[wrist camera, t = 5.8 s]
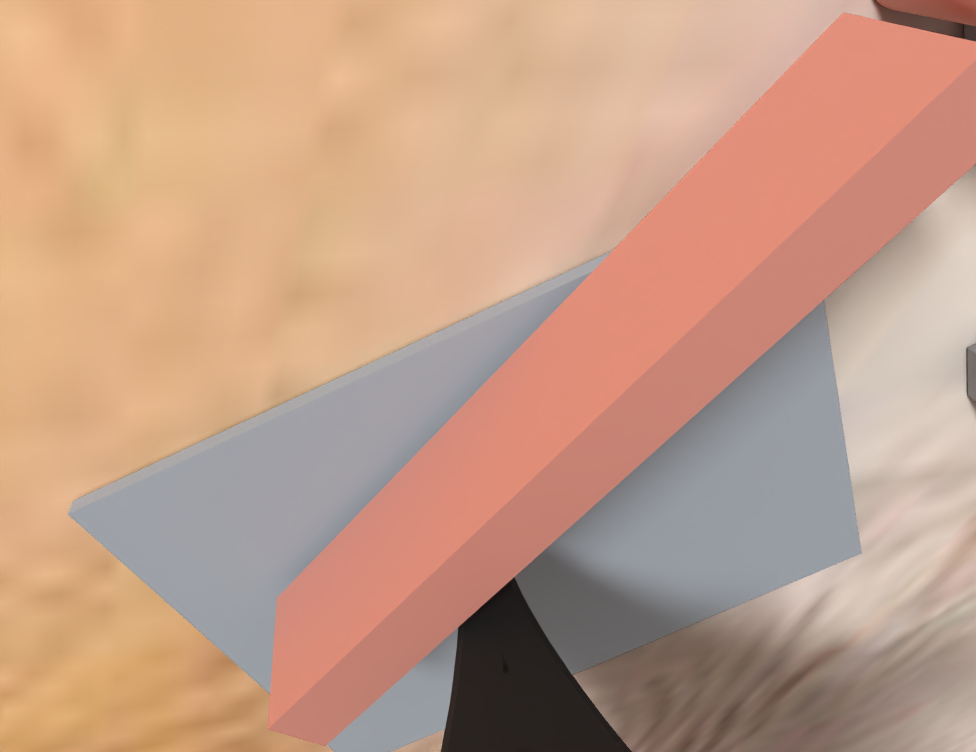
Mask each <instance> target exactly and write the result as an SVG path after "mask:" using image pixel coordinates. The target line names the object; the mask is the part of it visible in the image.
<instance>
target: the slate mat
mask: <svg viewBox="0 0 976 752" xmlns="http://www.w3.org/2000/svg"><path fill="white" fill-rule="evenodd" d="M611 252H612V251H611ZM611 252H609V253H606V254H604V255H602V256H600V257H598V258H596V259H594V260H591V261H589V262H587V263H585V264H583V265H581V266H578V267H576V268H574V269H572V270H570V271H568V272H566V273H563V274H561V275H559V276H557V277H555V278H553V279H550V280H548V281H546V282H544V283H542V284H540V285H538V286H535V287H533V288H531V289H529V290H527V291H525V292H522V293H520V294H518V295H516V296H514V297H512V298H509V299H507V300H505V301H503V302H501V303H499V304H497V305H494V306H492V307H490V308H488V309H486V310H484V311H481V312H479V313H477V314H475V315H473V316H471V317H469V318H466V319H464V320H462V321H460V322H458V323H456V324H453V325H451V326H449V327H447V328H445V329H443V330H440V331H438V332H436V333H434V334H432V335H430V336H428V337H425V338H423V339H421V340H419V341H417V342H415V343H412V344H410V345H408V346H406V347H404V348H402V349H400V350H397V351H395V352H393V353H391V354H389V355H387V356H384V357H382V358H380V359H378V360H376V361H374V362H371V363H369V364H367V365H365V366H363V367H361V368H359V369H356V370H354V371H352V372H350V373H348V374H346V375H343V376H341V377H339V378H337V379H335V380H333V381H331V382H328V383H326V384H324V385H322V386H320V387H318V388H315V389H313V390H311V391H309V392H307V393H305V394H303V395H300V396H298V397H296V398H294V399H292V400H290V401H287V402H285V403H283V404H281V405H279V406H277V407H274V408H272V409H270V410H268V411H266V412H264V413H262V414H259V415H257V416H255V417H253V418H251V419H249V420H246V421H244V422H242V423H240V424H238V425H236V426H234V427H231V428H229V429H227V430H225V431H223V432H221V433H218V434H216V435H214V436H212V437H210V438H208V439H205V440H203V441H201V442H199V443H197V444H195V445H193V446H190V447H188V448H186V449H184V450H182V451H180V452H177V453H175V454H173V455H171V456H169V457H167V458H165V459H162V460H160V461H158V462H156V463H154V464H152V465H149V466H147V467H145V468H143V469H141V470H139V471H136V472H134V473H132V474H130V475H128V476H126V477H124V478H121V479H119V480H117V481H115V482H113V483H111V484H108V485H106V486H104V487H102V488H100V489H98V490H96V491H93V492H91V493H89V494H87V495H85V496H83V497H80V498H78V499H76V500H74V501H73V503H72V505H71V508H70V510H69V512H68V515H69V516H70V517H72V518H73V519H74V520H75V521H76V522H77V523H78V524H79V525H81V526H82V527H83V528H84V529H85V530H86V531H87V532H88V533H90V534H91V535H92V536H93V537H94V538H95V539H96V540H97V541H98V542H100V543H101V544H102V545H103V546H104V547H105V548H106V549H107V550H109V551H110V552H111V553H112V554H113V555H114V556H115V557H116V558H118V559H119V560H120V561H121V562H122V563H123V564H124V565H125V566H127V567H128V568H129V569H130V570H131V571H132V572H133V573H134V574H136V575H137V576H138V577H139V578H140V579H141V580H142V581H143V582H145V583H146V584H147V585H148V586H149V587H150V588H151V589H152V590H154V591H155V592H156V593H157V594H158V595H159V596H160V597H161V598H163V599H164V600H165V601H166V602H167V603H168V604H169V605H170V606H171V607H173V608H174V609H175V610H176V611H177V612H178V613H179V614H180V615H182V616H183V617H184V618H185V619H186V620H187V621H188V622H189V623H191V624H192V625H193V626H194V627H195V628H196V629H197V630H198V631H200V632H201V633H202V634H203V635H204V636H205V637H206V638H207V639H209V640H210V641H211V642H212V643H213V644H214V645H215V646H216V647H218V648H219V649H220V650H221V651H222V652H223V653H224V654H225V655H227V656H228V657H229V658H230V659H231V660H232V661H233V662H234V663H235V664H237V665H238V666H239V667H240V668H241V669H242V670H243V671H244V672H246V673H247V674H248V675H249V676H250V677H251V678H252V679H253V680H255V681H256V682H257V683H258V684H259V685H260V686H261V687H262V688H264V689H265V690H266V691H267V692H268V693H269V694H270V688H271V674H272V660H273V645H274V631H275V617H276V603H277V597H278V596H279V595H280V594H281V593H282V592H283V591H284V590H285V589H286V588H287V587H288V586H289V585H290V584H291V583H292V582H293V581H294V580H295V579H296V578H297V577H298V576H299V575H300V574H301V572H302V571H303V570H304V569H305V568H306V567H307V566H308V565H309V564H310V563H311V562H312V561H313V560H314V559H315V558H316V557H317V556H318V555H319V554H320V553H321V552H322V551H323V550H324V549H325V548H326V547H327V546H328V545H329V544H330V543H331V541H332V540H333V539H334V538H335V537H336V536H337V535H338V534H339V533H340V532H341V531H342V530H343V529H344V528H345V527H346V526H347V525H348V524H349V523H350V522H351V521H352V520H353V519H354V518H355V517H356V516H357V515H358V514H359V513H360V512H361V510H362V509H363V508H364V507H365V506H366V505H367V504H368V503H369V502H370V501H371V500H372V499H373V498H374V497H375V496H376V495H377V494H378V493H379V492H380V491H381V490H382V489H383V488H384V487H385V486H386V485H387V484H388V483H389V482H390V480H391V479H392V478H393V477H394V476H395V475H396V474H397V473H398V472H399V471H400V470H401V469H402V468H403V467H404V466H405V465H406V464H407V463H408V462H409V461H410V460H411V459H412V458H413V457H414V456H415V455H416V454H417V453H418V452H419V451H420V449H421V448H422V447H423V446H424V445H425V444H426V443H427V442H428V441H429V440H430V439H431V438H432V437H433V436H434V435H435V434H436V433H437V432H438V431H439V430H440V429H441V428H442V427H443V426H444V425H445V424H446V423H447V422H448V421H449V420H450V418H451V417H452V416H453V415H454V414H455V413H456V412H457V411H458V410H459V409H460V408H461V407H462V406H463V405H464V404H465V403H466V402H467V401H468V400H469V399H470V398H471V397H472V396H473V395H474V394H475V393H476V392H477V391H478V390H479V388H480V387H481V386H482V385H483V384H484V383H485V382H486V381H487V380H488V379H489V378H490V377H491V376H492V375H493V374H494V373H495V372H496V371H497V370H498V369H499V368H500V367H501V366H502V365H503V364H504V363H505V362H506V361H507V360H508V359H509V357H510V356H511V355H512V354H513V353H514V352H515V351H516V350H517V349H518V348H519V347H520V346H521V345H522V344H523V343H524V342H525V341H526V340H527V339H528V338H529V337H530V336H531V335H532V334H533V333H534V332H535V331H536V330H537V329H538V328H539V326H540V325H541V324H542V323H543V322H544V321H545V320H546V319H547V318H548V317H549V316H550V315H551V314H552V313H553V312H554V311H555V310H556V309H557V308H558V307H559V306H560V305H561V304H562V303H563V302H564V301H565V300H566V299H567V298H568V296H569V295H570V294H571V293H572V292H573V291H574V290H575V289H576V288H577V287H578V286H579V285H580V284H581V283H582V282H583V281H584V280H585V279H586V278H587V277H588V276H589V275H590V274H591V273H592V272H593V271H594V270H595V269H596V268H597V267H598V265H599V264H600V263H601V262H602V261H603V260H604V259H605V258H606V257H607V256H608V255H609V254H610V253H611ZM859 554H861V546H860V540H859V533H858V526H857V520H856V513H855V506H854V499H853V493H852V486H851V479H850V473H849V466H848V459H847V453H846V446H845V439H844V432H843V426H842V419H841V412H840V406H839V399H838V392H837V386H836V379H835V372H834V365H833V359H832V352H831V345H830V339H829V332H828V325H827V319H826V312H825V305H824V300H823V301H822V302H821V303H820V304H819V305H817V306H816V307H815V308H814V309H813V310H812V311H811V312H810V313H808V314H807V315H806V316H805V317H804V318H803V319H802V320H801V321H800V322H798V323H797V324H796V325H795V326H794V327H793V328H792V329H791V330H789V331H788V332H787V333H786V334H785V335H784V336H783V337H782V338H781V339H779V340H778V341H777V342H776V343H775V344H774V345H773V346H772V347H771V348H769V349H768V350H767V351H766V352H765V353H764V354H763V355H762V356H760V357H759V358H758V359H757V360H756V361H755V362H754V363H753V364H752V365H750V366H749V367H748V368H747V369H746V370H745V371H744V372H743V373H741V374H740V375H739V376H738V377H737V378H736V379H735V380H734V381H733V382H731V383H730V384H729V385H728V386H727V387H726V388H725V389H724V390H723V391H721V392H720V393H719V394H718V395H717V396H716V397H715V398H714V399H712V400H711V401H710V402H709V403H708V404H707V405H706V406H705V407H704V408H702V409H701V410H700V411H699V412H698V413H697V414H696V415H695V416H693V417H692V418H691V419H690V420H689V421H688V422H687V423H686V424H685V425H683V426H682V427H681V428H680V429H679V430H678V431H677V432H676V433H674V434H673V435H672V436H671V437H670V438H669V439H668V440H667V441H666V442H664V443H663V444H662V445H661V446H660V447H659V448H658V449H657V450H656V451H654V452H653V453H652V454H651V455H650V456H649V457H648V458H647V459H645V460H644V461H643V462H642V463H641V464H640V465H639V466H638V467H637V468H635V469H634V470H633V471H632V472H631V473H630V474H629V475H628V476H626V477H625V478H624V479H623V480H622V481H621V482H620V483H619V484H618V485H616V486H615V487H614V488H613V489H612V490H611V491H610V492H609V493H608V494H606V495H605V496H604V497H603V498H602V499H601V500H600V501H599V502H597V503H596V504H595V505H594V506H593V507H592V508H591V509H590V510H589V511H587V512H586V513H585V514H584V515H583V516H582V517H581V518H580V519H578V520H577V521H576V522H575V523H574V524H573V525H572V526H571V527H570V528H568V529H567V530H566V531H565V532H564V533H563V534H562V535H561V536H559V537H558V538H557V539H556V540H555V541H554V542H553V543H552V544H551V545H549V546H548V547H547V548H546V549H545V550H544V551H543V552H542V553H541V554H539V555H538V556H537V557H536V558H535V559H534V560H533V561H532V562H530V563H529V564H528V565H527V566H526V567H525V568H524V569H523V570H522V571H520V572H519V573H518V574H517V575H516V576H515V579H516V582H517V584H518V586H519V588H520V590H521V592H522V594H523V596H524V598H525V600H526V602H527V604H528V606H529V607H530V609H531V611H532V613H533V614H534V616H535V618H536V620H537V621H538V623H539V625H540V627H541V628H542V630H543V632H544V633H545V635H546V636H547V638H548V640H549V641H550V643H551V644H552V646H553V647H554V649H555V650H556V652H557V653H558V655H559V656H560V658H561V659H562V661H563V662H564V664H565V665H566V667H567V668H568V670H569V671H570V673H571V674H572V675H574V674H576V673H579V672H581V671H583V670H586V669H588V668H590V667H593V666H595V665H598V664H600V663H602V662H605V661H607V660H609V659H612V658H614V657H617V656H619V655H621V654H624V653H626V652H628V651H631V650H633V649H636V648H638V647H640V646H643V645H645V644H647V643H650V642H652V641H655V640H657V639H659V638H662V637H664V636H666V635H669V634H671V633H674V632H676V631H678V630H681V629H683V628H685V627H688V626H690V625H692V624H695V623H697V622H700V621H702V620H704V619H707V618H709V617H711V616H714V615H716V614H719V613H721V612H723V611H726V610H728V609H730V608H733V607H735V606H738V605H740V604H742V603H745V602H747V601H749V600H752V599H754V598H757V597H759V596H761V595H764V594H766V593H768V592H771V591H773V590H776V589H778V588H780V587H783V586H785V585H787V584H790V583H792V582H794V581H797V580H799V579H802V578H804V577H806V576H809V575H811V574H813V573H816V572H818V571H821V570H823V569H825V568H828V567H830V566H832V565H835V564H837V563H840V562H842V561H844V560H847V559H849V558H851V557H854V556H856V555H859ZM457 636H458V628H457V629H456V630H455V631H453V632H452V633H451V634H450V635H449V636H448V637H447V638H446V639H444V640H443V641H442V642H441V643H440V644H439V645H438V646H437V647H436V648H434V649H433V650H432V651H431V652H430V653H429V654H428V655H427V656H426V657H424V658H423V659H422V660H421V661H420V662H419V663H418V664H417V665H415V666H414V667H413V668H412V669H411V670H410V671H409V672H408V673H407V674H405V675H404V676H403V677H402V678H401V679H400V680H399V681H398V682H396V683H395V684H394V685H393V686H392V687H391V688H390V689H389V690H388V691H386V692H385V693H384V694H383V695H382V696H381V697H380V698H379V699H377V700H376V701H375V702H374V703H373V704H372V705H371V706H370V707H369V708H367V709H366V710H365V711H364V712H363V713H362V714H361V715H360V716H359V717H357V718H356V719H355V720H354V721H353V722H352V723H351V724H350V725H348V726H347V727H346V728H345V729H344V730H343V731H342V732H341V733H340V734H338V735H337V736H336V737H335V738H334V739H333V740H332V741H331V742H329V743H328V744H327V745H328V746H329V747H330V748H331V749H332V750H333V751H334V752H391V751H394V750H396V749H398V748H401V747H403V746H405V745H408V744H410V743H413V742H415V741H417V740H420V739H422V738H424V737H427V736H429V735H432V734H434V733H436V732H439V731H441V730H443V729H445V727H446V721H447V716H448V710H449V705H450V698H451V691H452V683H453V674H454V666H455V658H456V649H457Z"/></svg>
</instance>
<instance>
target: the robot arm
mask: <svg viewBox="0 0 976 752" xmlns="http://www.w3.org/2000/svg"><path fill="white" fill-rule="evenodd" d="M441 752H632V751H631V750H630V749H629V748H628V747H627V746H626V744H625V743H624V742H623V741H622V739H621V738H620V737H619V736H618V735H617V733H616V732H615V731H614V730H613V728H612V727H611V726H610V725H609V723H608V722H607V721H606V720H605V718H604V717H603V716H602V714H601V713H600V712H599V711H598V709H597V708H596V707H595V705H594V704H593V703H592V701H591V700H590V699H589V697H588V696H587V695H586V693H585V692H584V691H583V689H582V688H581V687H580V685H579V684H578V682H577V681H576V680H575V678H574V677H573V675H572V674H571V673H570V671H569V670H568V668H567V667H566V665H565V664H564V662H563V661H562V659H561V658H560V656H559V655H558V653H557V652H556V650H555V649H554V647H553V646H552V644H551V643H550V641H549V640H548V638H547V636H546V635H545V633H544V632H543V630H542V628H541V627H540V625H539V623H538V621H537V620H536V618H535V616H534V614H533V613H532V611H531V609H530V607H529V606H528V604H527V602H526V600H525V598H524V596H523V594H522V592H521V590H520V588H519V586H518V584H517V582H516V579H515V577H514V578H513V579H511V580H510V581H509V582H508V583H507V584H506V585H505V586H504V587H503V588H501V589H500V590H499V591H498V592H497V593H496V594H495V595H494V596H492V597H491V598H490V599H489V600H488V601H487V602H486V603H485V604H484V605H482V606H481V607H480V608H479V609H478V610H477V611H476V612H475V613H474V614H472V615H471V616H470V617H469V618H468V619H467V620H466V621H465V622H463V623H462V624H461V625H460V626H459V627H458V636H457V649H456V658H455V666H454V674H453V683H452V691H451V698H450V705H449V710H448V716H447V721H446V727H445V732H444V738H443V743H442V749H441Z"/></svg>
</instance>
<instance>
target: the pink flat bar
mask: <svg viewBox="0 0 976 752" xmlns="http://www.w3.org/2000/svg"><path fill="white" fill-rule="evenodd" d="M876 1H877V2H878V3H879V4H881V5H882V6H884V7H885V8H888V9H891V10H895V11H901V12H906V13H911V14H916V15H921V16H926V17H931V18H936V19H941V20H946V21H952V22H957V23H962V24H967V25H972V26H976V0H876ZM975 164H976V42H975V41H971V40H966V39H962V38H957V37H953V36H948V35H943V34H939V33H934V32H930V31H925V30H921V29H916V28H912V27H907V26H902V25H898V24H893V23H889V22H884V21H880V20H875V19H871V18H866V17H862V16H857V15H852V14H848V13H842V14H841V15H840V16H839V17H838V18H837V19H836V20H835V22H834V23H833V24H832V25H831V26H830V27H829V28H828V29H827V30H826V31H825V32H824V33H823V34H822V35H821V36H820V37H819V38H818V39H817V40H816V41H815V42H814V43H813V44H812V45H811V46H810V47H809V48H808V49H807V50H806V52H805V53H804V54H803V55H802V56H801V57H800V58H799V59H798V60H797V61H796V62H795V63H794V64H793V65H792V66H791V67H790V68H789V69H788V70H787V71H786V72H785V73H784V74H783V75H782V76H781V77H780V78H779V79H778V80H777V81H776V83H775V84H774V85H773V86H772V87H771V88H770V89H769V90H768V91H767V92H766V93H765V94H764V95H763V96H762V97H761V98H760V99H759V100H758V101H757V102H756V103H755V104H754V105H753V106H752V107H751V108H750V109H749V110H748V111H747V112H746V114H745V115H744V116H743V117H742V118H741V119H740V120H739V121H738V122H737V123H736V124H735V125H734V126H733V127H732V128H731V129H730V130H729V131H728V132H727V133H726V134H725V135H724V136H723V137H722V138H721V139H720V140H719V141H718V142H717V144H716V145H715V146H714V147H713V148H712V149H711V150H710V151H709V152H708V153H707V154H706V155H705V156H704V157H703V158H702V159H701V160H700V161H699V162H698V163H697V164H696V165H695V166H694V167H693V168H692V169H691V170H690V171H689V172H688V173H687V175H686V176H685V177H684V178H683V179H682V180H681V181H680V182H679V183H678V184H677V185H676V186H675V187H674V188H673V189H672V190H671V191H670V192H669V193H668V194H667V195H666V196H665V197H664V198H663V199H662V200H661V201H660V202H659V203H658V204H657V206H656V207H655V208H654V209H653V210H652V211H651V212H650V213H649V214H648V215H647V216H646V217H645V218H644V219H643V220H642V221H641V222H640V223H639V224H638V225H637V226H636V227H635V228H634V229H633V230H632V231H631V232H630V233H629V234H628V236H627V237H626V238H625V239H624V240H623V241H622V242H621V243H620V244H619V245H618V246H617V247H616V248H615V249H614V250H613V251H612V252H611V253H610V254H609V255H608V256H607V257H606V258H605V259H604V260H603V261H602V262H601V263H600V264H599V265H598V267H597V268H596V269H595V270H594V271H593V272H592V273H591V274H590V275H589V276H588V277H587V278H586V279H585V280H584V281H583V282H582V283H581V284H580V285H579V286H578V287H577V288H576V289H575V290H574V291H573V292H572V293H571V294H570V295H569V296H568V298H567V299H566V300H565V301H564V302H563V303H562V304H561V305H560V306H559V307H558V308H557V309H556V310H555V311H554V312H553V313H552V314H551V315H550V316H549V317H548V318H547V319H546V320H545V321H544V322H543V323H542V324H541V325H540V326H539V328H538V329H537V330H536V331H535V332H534V333H533V334H532V335H531V336H530V337H529V338H528V339H527V340H526V341H525V342H524V343H523V344H522V345H521V346H520V347H519V348H518V349H517V350H516V351H515V352H514V353H513V354H512V355H511V356H510V357H509V359H508V360H507V361H506V362H505V363H504V364H503V365H502V366H501V367H500V368H499V369H498V370H497V371H496V372H495V373H494V374H493V375H492V376H491V377H490V378H489V379H488V380H487V381H486V382H485V383H484V384H483V385H482V386H481V387H480V388H479V390H478V391H477V392H476V393H475V394H474V395H473V396H472V397H471V398H470V399H469V400H468V401H467V402H466V403H465V404H464V405H463V406H462V407H461V408H460V409H459V410H458V411H457V412H456V413H455V414H454V415H453V416H452V417H451V418H450V420H449V421H448V422H447V423H446V424H445V425H444V426H443V427H442V428H441V429H440V430H439V431H438V432H437V433H436V434H435V435H434V436H433V437H432V438H431V439H430V440H429V441H428V442H427V443H426V444H425V445H424V446H423V447H422V448H421V449H420V451H419V452H418V453H417V454H416V455H415V456H414V457H413V458H412V459H411V460H410V461H409V462H408V463H407V464H406V465H405V466H404V467H403V468H402V469H401V470H400V471H399V472H398V473H397V474H396V475H395V476H394V477H393V478H392V479H391V480H390V482H389V483H388V484H387V485H386V486H385V487H384V488H383V489H382V490H381V491H380V492H379V493H378V494H377V495H376V496H375V497H374V498H373V499H372V500H371V501H370V502H369V503H368V504H367V505H366V506H365V507H364V508H363V509H362V510H361V512H360V513H359V514H358V515H357V516H356V517H355V518H354V519H353V520H352V521H351V522H350V523H349V524H348V525H347V526H346V527H345V528H344V529H343V530H342V531H341V532H340V533H339V534H338V535H337V536H336V537H335V538H334V539H333V540H332V541H331V543H330V544H329V545H328V546H327V547H326V548H325V549H324V550H323V551H322V552H321V553H320V554H319V555H318V556H317V557H316V558H315V559H314V560H313V561H312V562H311V563H310V564H309V565H308V566H307V567H306V568H305V569H304V570H303V571H302V572H301V574H300V575H299V576H298V577H297V578H296V579H295V580H294V581H293V582H292V583H291V584H290V585H289V586H288V587H287V588H286V589H285V590H284V591H283V592H282V593H281V594H280V595H279V596H278V597H277V603H276V617H275V631H274V645H273V660H272V674H271V688H270V702H269V717H268V729H269V730H272V731H275V732H279V733H282V734H286V735H289V736H293V737H296V738H299V739H303V740H306V741H310V742H313V743H316V744H320V745H323V746H326V745H327V744H328V743H329V742H331V741H332V740H333V739H334V738H335V737H336V736H337V735H338V734H340V733H341V732H342V731H343V730H344V729H345V728H346V727H347V726H348V725H350V724H351V723H352V722H353V721H354V720H355V719H356V718H357V717H359V716H360V715H361V714H362V713H363V712H364V711H365V710H366V709H367V708H369V707H370V706H371V705H372V704H373V703H374V702H375V701H376V700H377V699H379V698H380V697H381V696H382V695H383V694H384V693H385V692H386V691H388V690H389V689H390V688H391V687H392V686H393V685H394V684H395V683H396V682H398V681H399V680H400V679H401V678H402V677H403V676H404V675H405V674H407V673H408V672H409V671H410V670H411V669H412V668H413V667H414V666H415V665H417V664H418V663H419V662H420V661H421V660H422V659H423V658H424V657H426V656H427V655H428V654H429V653H430V652H431V651H432V650H433V649H434V648H436V647H437V646H438V645H439V644H440V643H441V642H442V641H443V640H444V639H446V638H447V637H448V636H449V635H450V634H451V633H452V632H453V631H455V630H456V629H457V628H458V627H459V626H460V625H461V624H462V623H463V622H465V621H466V620H467V619H468V618H469V617H470V616H471V615H472V614H474V613H475V612H476V611H477V610H478V609H479V608H480V607H481V606H482V605H484V604H485V603H486V602H487V601H488V600H489V599H490V598H491V597H492V596H494V595H495V594H496V593H497V592H498V591H499V590H500V589H501V588H503V587H504V586H505V585H506V584H507V583H508V582H509V581H510V580H511V579H513V578H514V577H515V576H516V575H517V574H518V573H519V572H520V571H522V570H523V569H524V568H525V567H526V566H527V565H528V564H529V563H530V562H532V561H533V560H534V559H535V558H536V557H537V556H538V555H539V554H541V553H542V552H543V551H544V550H545V549H546V548H547V547H548V546H549V545H551V544H552V543H553V542H554V541H555V540H556V539H557V538H558V537H559V536H561V535H562V534H563V533H564V532H565V531H566V530H567V529H568V528H570V527H571V526H572V525H573V524H574V523H575V522H576V521H577V520H578V519H580V518H581V517H582V516H583V515H584V514H585V513H586V512H587V511H589V510H590V509H591V508H592V507H593V506H594V505H595V504H596V503H597V502H599V501H600V500H601V499H602V498H603V497H604V496H605V495H606V494H608V493H609V492H610V491H611V490H612V489H613V488H614V487H615V486H616V485H618V484H619V483H620V482H621V481H622V480H623V479H624V478H625V477H626V476H628V475H629V474H630V473H631V472H632V471H633V470H634V469H635V468H637V467H638V466H639V465H640V464H641V463H642V462H643V461H644V460H645V459H647V458H648V457H649V456H650V455H651V454H652V453H653V452H654V451H656V450H657V449H658V448H659V447H660V446H661V445H662V444H663V443H664V442H666V441H667V440H668V439H669V438H670V437H671V436H672V435H673V434H674V433H676V432H677V431H678V430H679V429H680V428H681V427H682V426H683V425H685V424H686V423H687V422H688V421H689V420H690V419H691V418H692V417H693V416H695V415H696V414H697V413H698V412H699V411H700V410H701V409H702V408H704V407H705V406H706V405H707V404H708V403H709V402H710V401H711V400H712V399H714V398H715V397H716V396H717V395H718V394H719V393H720V392H721V391H723V390H724V389H725V388H726V387H727V386H728V385H729V384H730V383H731V382H733V381H734V380H735V379H736V378H737V377H738V376H739V375H740V374H741V373H743V372H744V371H745V370H746V369H747V368H748V367H749V366H750V365H752V364H753V363H754V362H755V361H756V360H757V359H758V358H759V357H760V356H762V355H763V354H764V353H765V352H766V351H767V350H768V349H769V348H771V347H772V346H773V345H774V344H775V343H776V342H777V341H778V340H779V339H781V338H782V337H783V336H784V335H785V334H786V333H787V332H788V331H789V330H791V329H792V328H793V327H794V326H795V325H796V324H797V323H798V322H800V321H801V320H802V319H803V318H804V317H805V316H806V315H807V314H808V313H810V312H811V311H812V310H813V309H814V308H815V307H816V306H817V305H819V304H820V303H821V302H822V301H823V300H824V299H825V298H826V297H827V296H829V295H830V294H831V293H832V292H833V291H834V290H835V289H836V288H838V287H839V286H840V285H841V284H842V283H843V282H844V281H845V280H846V279H848V278H849V277H850V276H851V275H852V274H853V273H854V272H855V271H856V270H858V269H859V268H860V267H861V266H862V265H863V264H864V263H865V262H867V261H868V260H869V259H870V258H871V257H872V256H873V255H874V254H875V253H877V252H878V251H879V250H880V249H881V248H882V247H883V246H884V245H886V244H887V243H888V242H889V241H890V240H891V239H892V238H893V237H894V236H896V235H897V234H898V233H899V232H900V231H901V230H902V229H903V228H904V227H906V226H907V225H908V224H909V223H910V222H911V221H912V220H913V219H915V218H916V217H917V216H918V215H919V214H920V213H921V212H922V211H923V210H925V209H926V208H927V207H928V206H929V205H930V204H931V203H932V202H934V201H935V200H936V199H937V198H938V197H939V196H940V195H941V194H942V193H944V192H945V191H946V190H947V189H948V188H949V187H950V186H951V185H953V184H954V183H955V182H956V181H957V180H958V179H959V178H960V177H961V176H963V175H964V174H965V173H966V172H967V171H968V170H969V169H970V168H971V167H973V166H974V165H975Z"/></svg>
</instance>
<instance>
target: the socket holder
mask: <svg viewBox="0 0 976 752" xmlns="http://www.w3.org/2000/svg"><path fill="white" fill-rule="evenodd" d="M964 39H966V40H971V41H975V42H976V26H972V25H967V24H964ZM967 364H968V396H969V397H970V398H972V399H973V400H974V401H975V402H976V344H975V345H972V346H970V347H968V348H967Z"/></svg>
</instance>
